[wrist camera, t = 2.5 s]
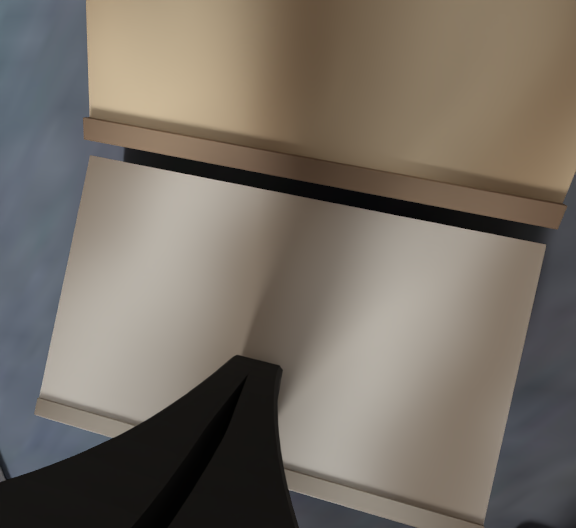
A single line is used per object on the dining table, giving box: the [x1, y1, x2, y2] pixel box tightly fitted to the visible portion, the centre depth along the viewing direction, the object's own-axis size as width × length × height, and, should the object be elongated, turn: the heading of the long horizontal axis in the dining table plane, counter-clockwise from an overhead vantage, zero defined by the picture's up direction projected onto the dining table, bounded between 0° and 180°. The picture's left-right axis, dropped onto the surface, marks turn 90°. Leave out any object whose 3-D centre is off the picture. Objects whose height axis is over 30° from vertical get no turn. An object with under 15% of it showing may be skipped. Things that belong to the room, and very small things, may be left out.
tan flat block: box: [34, 155, 546, 528], centre depth 13 cm, size 13×8×2 cm, turn 81°
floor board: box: [83, 0, 576, 229], centre depth 11 cm, size 13×6×2 cm, turn 81°
